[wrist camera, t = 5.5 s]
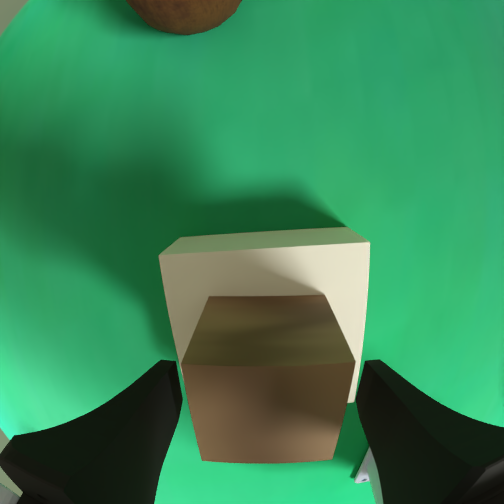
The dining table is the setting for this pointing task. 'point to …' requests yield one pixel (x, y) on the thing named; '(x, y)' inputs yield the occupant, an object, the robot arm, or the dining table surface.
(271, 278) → the cream base block
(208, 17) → the wooden figurine
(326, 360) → the walnut cube
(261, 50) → the dining table surface
